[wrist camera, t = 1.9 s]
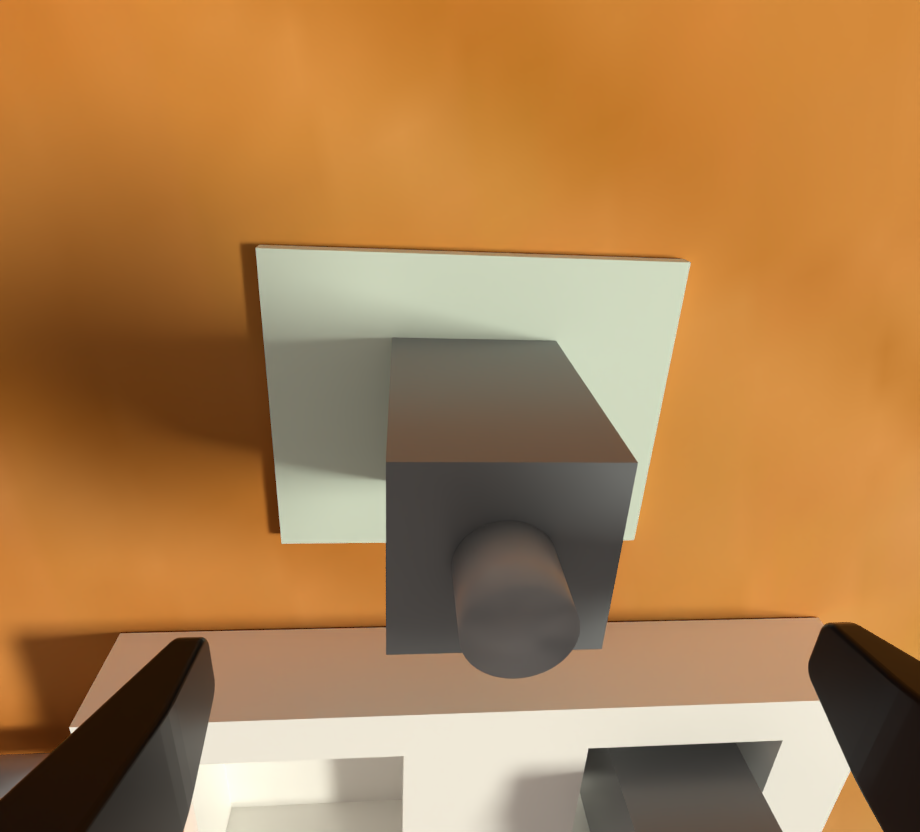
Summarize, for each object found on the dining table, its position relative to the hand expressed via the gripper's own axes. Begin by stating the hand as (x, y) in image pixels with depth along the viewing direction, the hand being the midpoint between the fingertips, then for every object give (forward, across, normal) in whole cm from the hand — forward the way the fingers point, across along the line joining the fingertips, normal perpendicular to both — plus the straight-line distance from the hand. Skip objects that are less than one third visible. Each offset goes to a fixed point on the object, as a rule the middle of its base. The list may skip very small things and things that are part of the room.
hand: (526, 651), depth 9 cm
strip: (+8, +1, +12) cm, 15 cm away
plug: (+8, 0, 0) cm, 8 cm away
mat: (+8, 0, 0) cm, 8 cm away
